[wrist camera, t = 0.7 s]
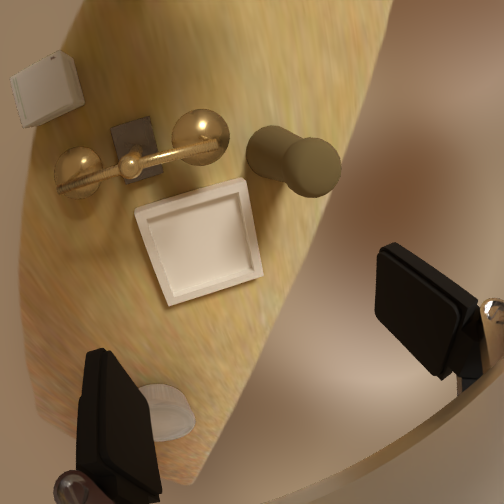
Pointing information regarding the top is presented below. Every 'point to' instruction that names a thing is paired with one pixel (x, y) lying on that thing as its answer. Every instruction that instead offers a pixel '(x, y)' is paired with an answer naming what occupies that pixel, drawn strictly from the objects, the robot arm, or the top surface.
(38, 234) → the top surface
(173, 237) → the dish
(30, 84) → the small box
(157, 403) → the ramekin
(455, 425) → the robot arm
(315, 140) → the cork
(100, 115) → the top surface
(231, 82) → the top surface
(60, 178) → the balance
